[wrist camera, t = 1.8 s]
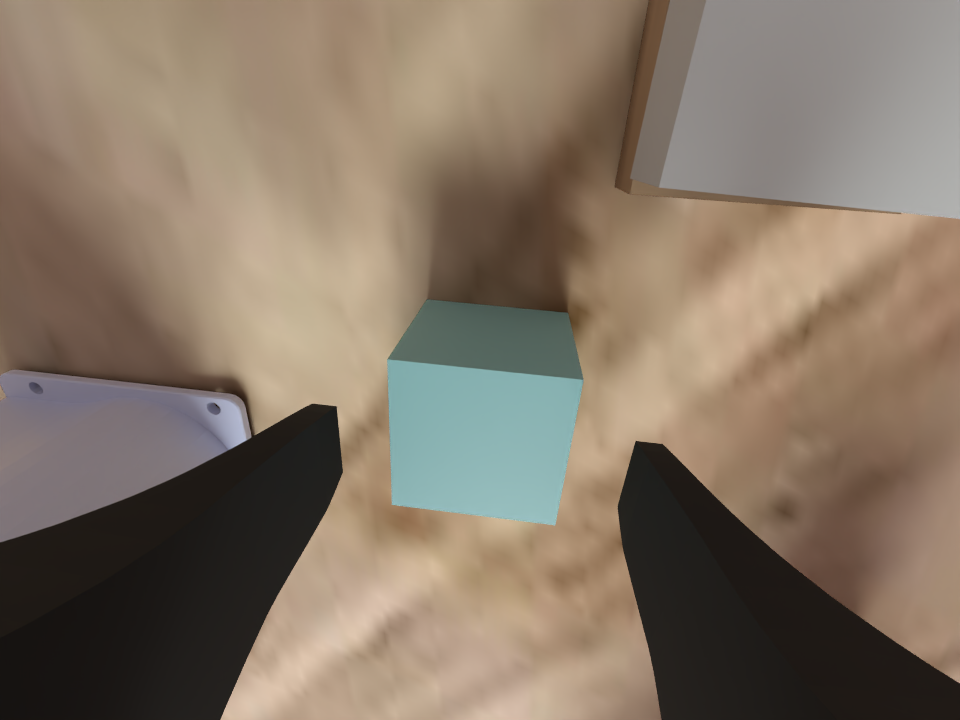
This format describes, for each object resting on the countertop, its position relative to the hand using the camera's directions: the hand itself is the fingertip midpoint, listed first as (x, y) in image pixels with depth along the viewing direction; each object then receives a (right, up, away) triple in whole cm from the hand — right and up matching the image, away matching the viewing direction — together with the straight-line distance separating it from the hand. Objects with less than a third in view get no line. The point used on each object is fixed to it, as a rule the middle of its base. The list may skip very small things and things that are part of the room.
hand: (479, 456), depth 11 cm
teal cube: (0, +2, +4) cm, 5 cm away
